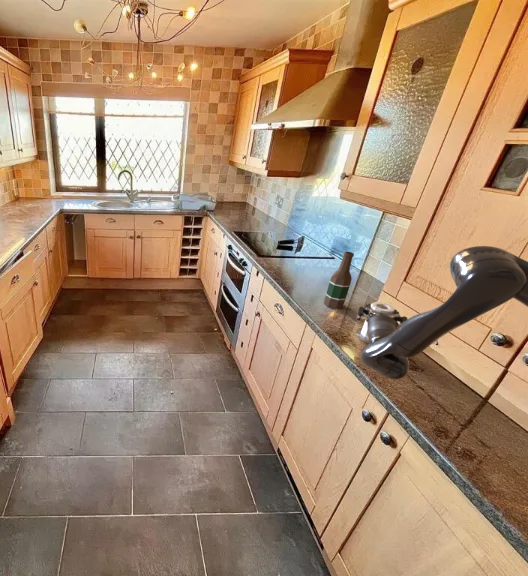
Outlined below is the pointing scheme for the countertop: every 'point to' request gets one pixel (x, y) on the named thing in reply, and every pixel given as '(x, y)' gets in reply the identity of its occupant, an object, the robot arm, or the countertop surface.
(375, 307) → the paper roll
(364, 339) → the towel stand
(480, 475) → the countertop surface
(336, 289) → the beer bottle
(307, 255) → the countertop surface
